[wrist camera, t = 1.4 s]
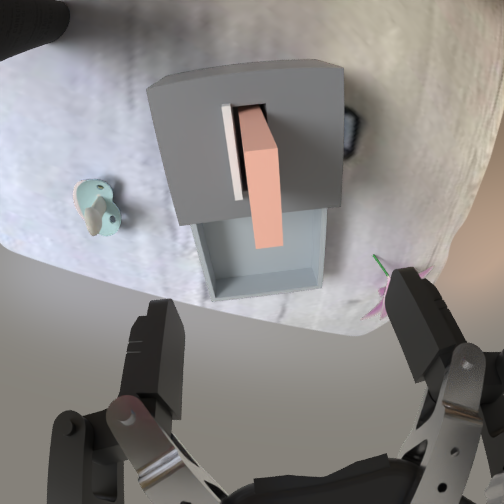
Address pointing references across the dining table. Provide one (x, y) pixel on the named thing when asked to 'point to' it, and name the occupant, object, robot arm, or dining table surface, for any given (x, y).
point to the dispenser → (230, 142)
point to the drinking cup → (30, 24)
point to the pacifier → (97, 206)
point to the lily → (381, 305)
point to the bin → (262, 256)
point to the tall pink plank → (261, 176)
